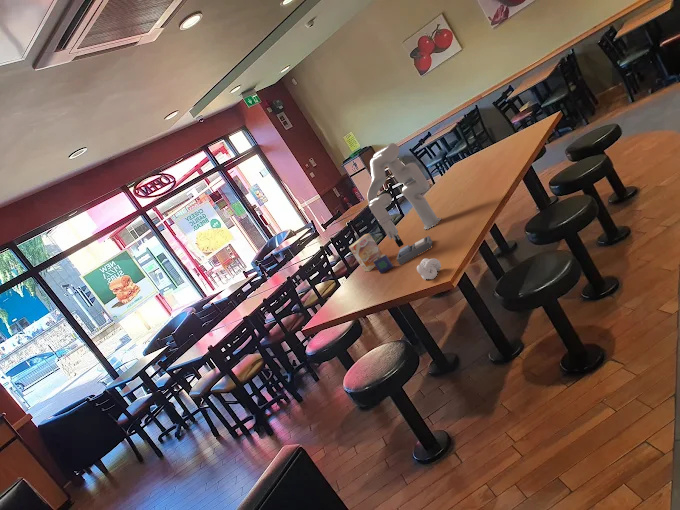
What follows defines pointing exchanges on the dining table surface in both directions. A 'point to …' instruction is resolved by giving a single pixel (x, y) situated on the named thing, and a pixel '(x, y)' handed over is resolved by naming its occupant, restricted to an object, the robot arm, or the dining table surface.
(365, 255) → the coffeecake box
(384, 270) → the dark blue boxy piece
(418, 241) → the white key
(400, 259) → the key panel
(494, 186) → the dining table surface
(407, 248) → the blue key
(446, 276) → the dining table surface
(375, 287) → the dining table surface
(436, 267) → the white rounded lump
